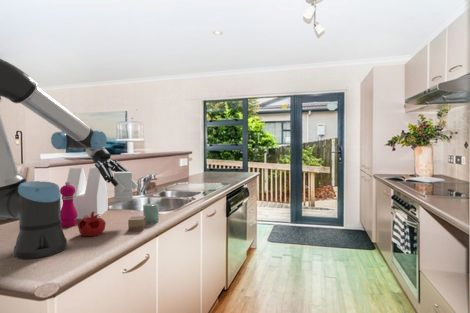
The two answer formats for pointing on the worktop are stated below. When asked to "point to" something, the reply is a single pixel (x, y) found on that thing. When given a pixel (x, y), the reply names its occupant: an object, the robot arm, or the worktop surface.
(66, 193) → the pepper mill
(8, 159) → the robot arm
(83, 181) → the milk carton
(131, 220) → the walnut block
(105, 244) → the worktop surface
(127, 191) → the supplement box
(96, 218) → the pomegranate
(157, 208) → the green rounded block
